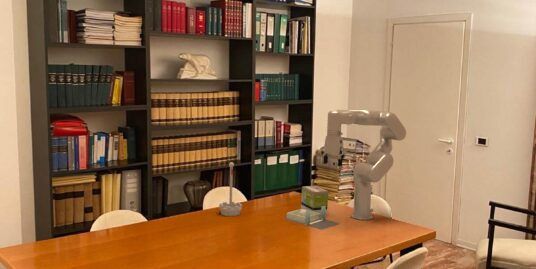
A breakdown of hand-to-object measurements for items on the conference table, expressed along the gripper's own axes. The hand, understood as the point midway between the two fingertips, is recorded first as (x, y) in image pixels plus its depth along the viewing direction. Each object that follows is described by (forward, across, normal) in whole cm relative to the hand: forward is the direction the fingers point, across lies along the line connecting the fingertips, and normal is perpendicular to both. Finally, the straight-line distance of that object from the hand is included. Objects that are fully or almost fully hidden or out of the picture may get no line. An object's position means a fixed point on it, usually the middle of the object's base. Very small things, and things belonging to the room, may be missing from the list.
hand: (332, 164), depth 285 cm
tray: (+32, +14, +7) cm, 35 cm away
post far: (+32, +5, 0) cm, 33 cm away
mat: (+32, +8, +7) cm, 34 cm away
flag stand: (+33, +50, +29) cm, 66 cm away
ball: (+32, +14, +7) cm, 35 cm away
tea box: (+32, +18, -8) cm, 38 cm away
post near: (+32, +5, +14) cm, 36 cm away
